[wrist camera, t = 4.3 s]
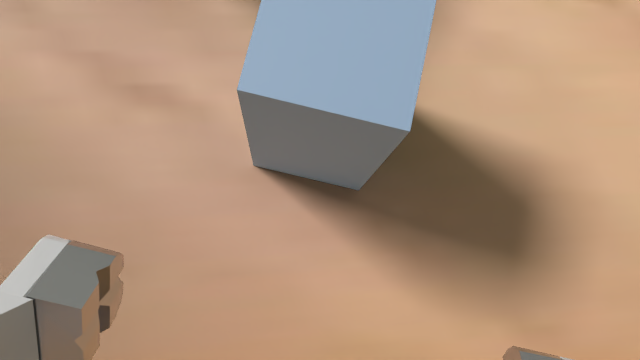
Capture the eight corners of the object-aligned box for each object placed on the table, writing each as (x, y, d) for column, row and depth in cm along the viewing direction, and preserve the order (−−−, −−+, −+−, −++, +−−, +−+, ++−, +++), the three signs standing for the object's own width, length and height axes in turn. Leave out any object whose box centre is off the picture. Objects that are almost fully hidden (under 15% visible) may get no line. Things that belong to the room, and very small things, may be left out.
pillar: (358, 190, 22) (410, 131, 14) (253, 165, 22) (236, 89, 14) (380, 91, 23) (441, -25, 15) (279, 66, 23) (279, -65, 14)
